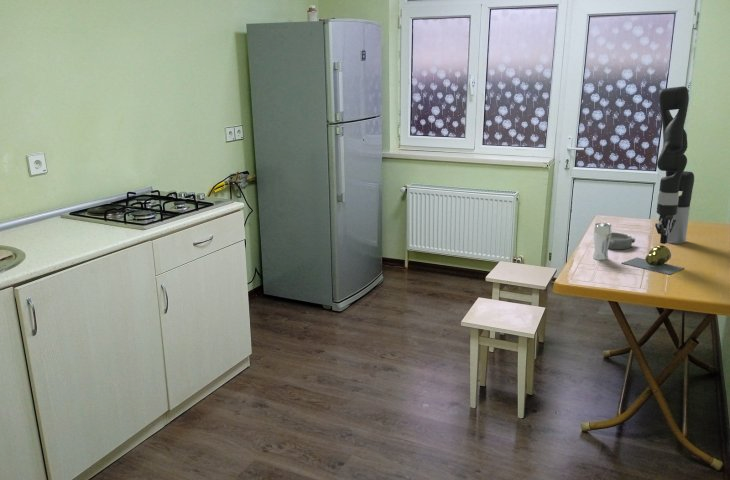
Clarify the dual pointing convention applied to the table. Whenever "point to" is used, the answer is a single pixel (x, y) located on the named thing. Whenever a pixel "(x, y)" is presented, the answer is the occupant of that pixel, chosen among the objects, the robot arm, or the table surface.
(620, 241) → the dish
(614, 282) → the table surface
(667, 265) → the mat
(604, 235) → the beer glass
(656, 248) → the brass door knob
